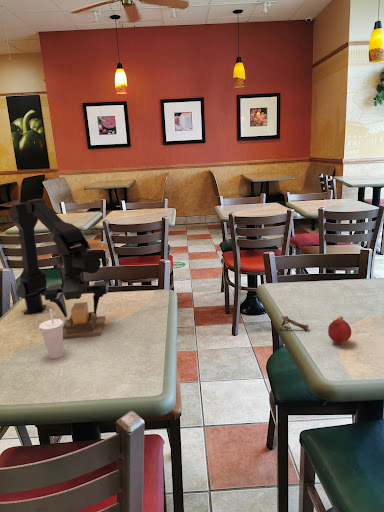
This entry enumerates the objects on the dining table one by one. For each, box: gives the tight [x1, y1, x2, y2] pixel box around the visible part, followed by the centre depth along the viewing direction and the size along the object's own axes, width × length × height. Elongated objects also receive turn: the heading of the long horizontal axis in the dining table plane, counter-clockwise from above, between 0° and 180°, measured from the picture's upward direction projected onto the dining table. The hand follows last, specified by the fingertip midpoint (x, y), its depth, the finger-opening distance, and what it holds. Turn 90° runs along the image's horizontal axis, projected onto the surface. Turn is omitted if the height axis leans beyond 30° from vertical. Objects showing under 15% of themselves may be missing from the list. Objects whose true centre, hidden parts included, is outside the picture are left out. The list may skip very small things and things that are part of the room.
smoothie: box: [38, 308, 64, 360], centre depth 108 cm, size 6×6×14 cm
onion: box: [327, 315, 352, 345], centre depth 105 cm, size 6×6×8 cm
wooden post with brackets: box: [279, 315, 310, 331], centre depth 115 cm, size 2×8×4 cm, turn 80°
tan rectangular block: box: [70, 301, 90, 325], centre depth 125 cm, size 6×4×7 cm, turn 6°
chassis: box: [63, 311, 106, 340], centre depth 126 cm, size 13×13×3 cm
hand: (80, 315), depth 125 cm, fingers open, 9 cm apart
